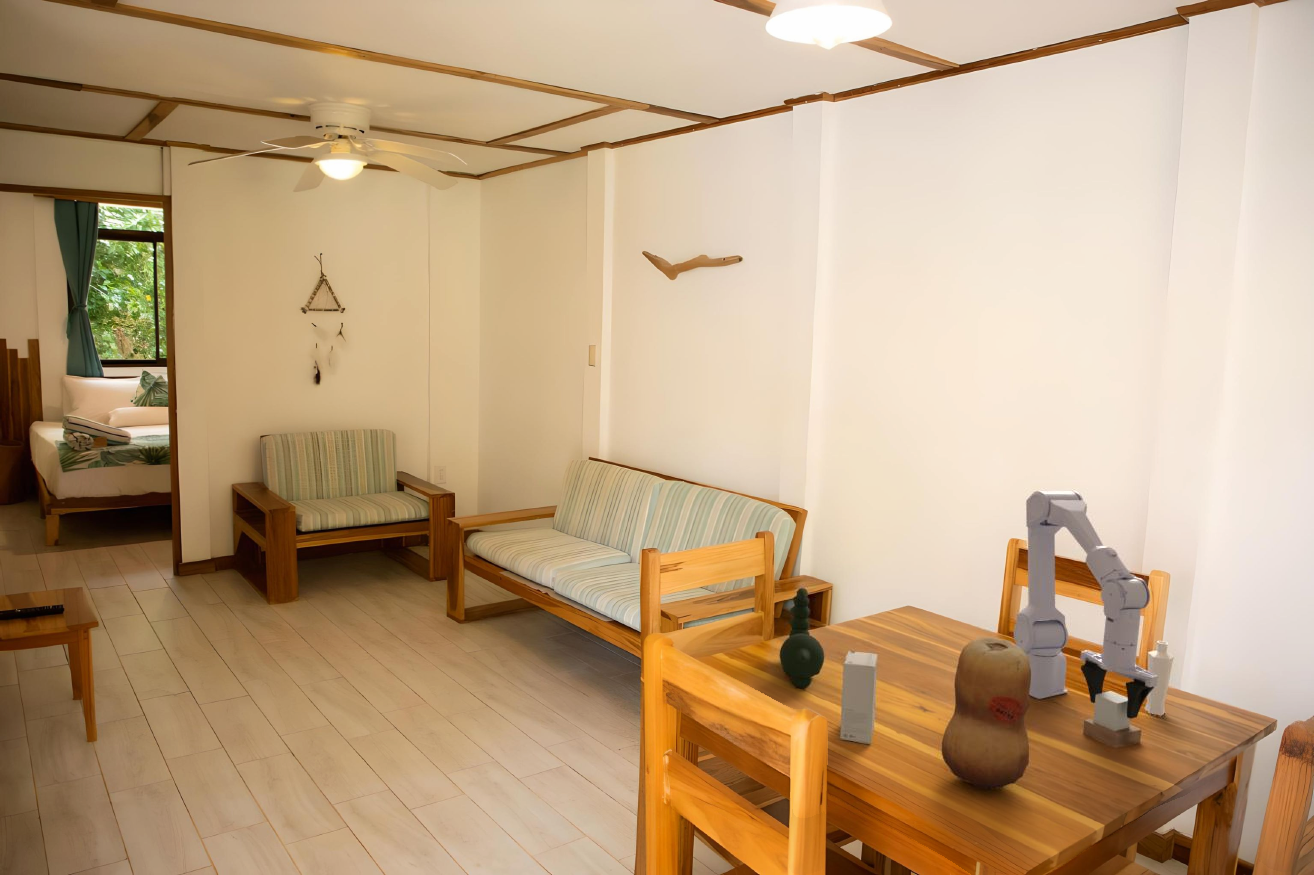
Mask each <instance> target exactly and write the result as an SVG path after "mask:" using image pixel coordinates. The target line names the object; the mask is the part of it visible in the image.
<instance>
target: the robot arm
mask: <svg viewBox="0 0 1314 875" xmlns="http://www.w3.org/2000/svg"><path fill="white" fill-rule="evenodd" d="M1083 499H1084V498H1083V497H1082V495H1081V494H1080V493H1079V492H1078V491H1076V490H1070V491H1041V490H1036V491H1034V492H1033V493H1032V494H1030V496H1029V497H1028V498H1027V499H1026V502H1025V504H1026V505H1025V506H1026V508H1025V510H1026V513H1025V514H1026V518H1025V519H1026V520H1025V521H1026V522H1025V523H1026V527H1027V580H1028V581H1027V586H1028V587H1027V588H1028V592H1027V598H1028V599H1027V601H1028V602H1027V603H1028V604H1027V605H1026V606H1025V607H1024V608H1022V609H1021V610H1020V611H1019V612H1018V613H1017V614H1016V622H1015V626H1014V629H1013V639H1014V642H1015V644H1016V645H1017V646H1018V647H1020V648H1021V649H1022V650H1023V651H1024V652H1025V654H1026V655H1027V656H1028V658H1029V662H1030V668H1031V684H1030V691H1029V697H1030V696H1031V697H1033V698H1035V699H1038V700H1040V699H1041V700H1042V699H1046V698H1050V697H1053V696H1054V697H1055V696H1058V695H1063V694H1067V693H1069V692H1068V689H1066V688H1065V685H1066V684H1065V683H1066V674H1067V665H1068V664H1067V658H1066V656H1065V654H1064V653H1063V652H1062V649H1064V648H1065V647H1066V646H1067V644H1068V641H1069V632H1068V631H1069V630H1068V629H1067V625H1066V617H1065V615H1064V613H1062V612H1061V611H1060V610H1059V609H1057V607H1056V566H1055V565H1056V560H1055V559H1056V558H1055V557H1056V555H1055V554H1056V551H1055V547H1056V546H1055V544H1056V543H1055V542H1056V541H1055V540H1056V539H1055V535H1056V534H1057V533H1058V532H1059V531H1060V530H1062V528H1066V529H1067V531H1068V532H1069V533H1070V534H1071V536H1073V538H1074V540H1075V541H1076V542H1077V543H1078V544H1079V546H1080V547H1081V548H1082V549H1083V551H1084V552H1085V554H1086V558H1085V564H1086V566H1087V567H1088V569H1089V570H1090V572H1091V574H1093V576H1094V578H1095V579H1096V581H1097V582H1098V584H1099V586H1100V587H1101V588H1102V589H1101V590H1100V598H1101V601H1102V604H1103V610H1102V611H1103V613H1104V616H1105V620H1104V621H1105V622H1104V625H1105V626H1104V633H1103V643H1102V652H1101V653H1098V652H1094V651H1091V650H1089V649H1086V650H1083V651H1080V660H1079V661H1080V662H1083V663H1084V664H1083V665H1080V670H1081V672H1082V675H1083V676H1084V678H1085V681H1086V684H1087V687H1088V688H1087V689H1088V693H1089V699H1090V703H1092V704H1095V698H1096V694H1100V693H1103V687H1104V682H1105V678H1106V674H1107V672H1113V673H1116V674H1118V675H1120V676H1123V677H1125V678H1128V679H1131V680H1133V681H1127V682H1125V689H1126V694H1127V696H1126V697H1127V698H1128V704H1127V718H1130V720H1132V719H1135V718H1138V715H1139V712H1140V710H1141V707H1142V705H1143V703H1145V700H1146V699H1147V695H1148V694H1149V693H1150V692H1151V690H1152V689H1153V688H1154V686H1157V678H1158V676H1156V675H1154V674H1152V673H1150V672H1148V670H1146V669H1145V668H1142V667H1140V666H1139V665H1137V664H1136V659H1137V653H1138V652H1137V650H1138V642H1139V641H1138V640H1139V634H1140V632H1139V631H1140V625H1141V624H1140V623H1141V616H1142V615H1141V613H1142V609H1145V608H1147V607H1148V605H1149V604H1150V600H1151V593H1150V589H1149V587H1148V585H1147V583H1146V581H1145V580H1144V579H1142V578H1140V577H1137V576H1136V575H1135V574H1133V573H1131V572H1130V570H1128V568H1127V566H1126V565H1125V564H1124V562H1123V561H1122V559H1121V558H1120V556H1119V555H1118V553H1117V551H1116V550H1115V549H1113V548H1112V547H1109V546H1104V544H1103V542H1102V540H1101V538H1100V537H1099V535H1098V533H1097V531H1096V530H1095V528H1094V527H1093V524H1092V523H1091V521H1090V519H1089V518H1088V516H1087V512H1088V510H1087V509H1088V507H1087V502H1085V501H1084V500H1083Z"/></svg>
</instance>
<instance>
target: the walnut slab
mask: <svg viewBox="0 0 1314 875" xmlns="http://www.w3.org/2000/svg"><path fill="white" fill-rule="evenodd" d="M1093 718H1094V717H1092V718H1088V719H1084V720H1083V729H1082V734H1084V735H1086V734H1087V735H1086V736H1088V735H1089V737H1090V736H1091V737H1090V738H1092V737H1094V738H1095V740H1097V739H1098V740H1097V741H1099V740H1100V741H1099V742H1101V743H1102V744H1105V745H1107V744H1108V745H1107V746H1109V747H1111V746H1112V747H1111V748H1112V749H1119V748H1123V747H1126V746H1127V745H1128V746H1132V745H1135V743H1136V744H1140V743H1141V735H1142V728H1139V727H1137V726H1135V725H1132V724H1130V727H1128V728H1125V729H1121V730H1118V731H1113V730H1110V729H1108V728H1106V727H1104V726H1101V725H1099V724H1097V723H1094V722H1093ZM1094 738H1093V739H1094ZM1139 742H1140V743H1139ZM1131 744H1132V745H1131ZM1118 747H1119V748H1118Z"/></svg>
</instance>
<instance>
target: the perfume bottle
mask: <svg viewBox="0 0 1314 875" xmlns="http://www.w3.org/2000/svg"><path fill="white" fill-rule="evenodd" d="M1168 644H1169V642H1167V641H1163V640H1157V641H1156V647H1155V650H1151V651H1148V652H1147V671H1148V672H1150V673H1152V674H1154V675H1156V676H1158V678H1157V686H1154V688H1153V689H1152V690H1151V692H1150V693H1149V694H1148V695H1147V697H1146V704H1145V706H1144V709H1145V710H1146V711H1148V713H1152V714H1158V715H1163V714H1164V713H1165V714H1166V710H1165V704H1166V698H1167V693H1168V687H1169V682H1170V677H1171V672H1172V668H1173V667H1172V666H1173V663H1174V662H1173V661H1174V655H1172V654H1171V653H1169V652H1168ZM1145 710H1144V711H1145ZM1146 711H1145V712H1146ZM1148 713H1147V714H1148Z"/></svg>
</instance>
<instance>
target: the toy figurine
mask: <svg viewBox="0 0 1314 875" xmlns="http://www.w3.org/2000/svg"><path fill="white" fill-rule="evenodd" d="M808 596H809V594H808V590H807V589H806V588H804V587H801V588H798V589H797V591H796V594H795V596H793V598H792V601H793V605H794V606H792V607H791V608H790V613H792V618H791V619H790V620H789V622H788V624H789V626H790V627H791V629H790V631H789V634H788V636H789V637H787V638H786V639H785V640H784V642H782V645H781V646H780V649H779V660H780V661H779V662H780V664H781V667H782V671H783V673H784V674H786V675H789V676H790V683H791V685H792V686H793V687H795V688H798V687H799V688H800V689H804V688H808V687H809V686H810V685H811V682H812V680H811V679H812V677H814V676H818V675H819V674H820V672H821V670H822V668H823V665H824V663H825V662H824V661H825V652H824V649H823V647H822V644H821V643H820V641H818V640H817V639H816V638H815V637H813V636H812V635H811V634H810V631H809V628H810V626H811V623H810V620H809V619H808V618H809V616H810V613H811V609H810V608H809V607H808V606H809V603H810V599H809V598H808Z"/></svg>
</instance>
